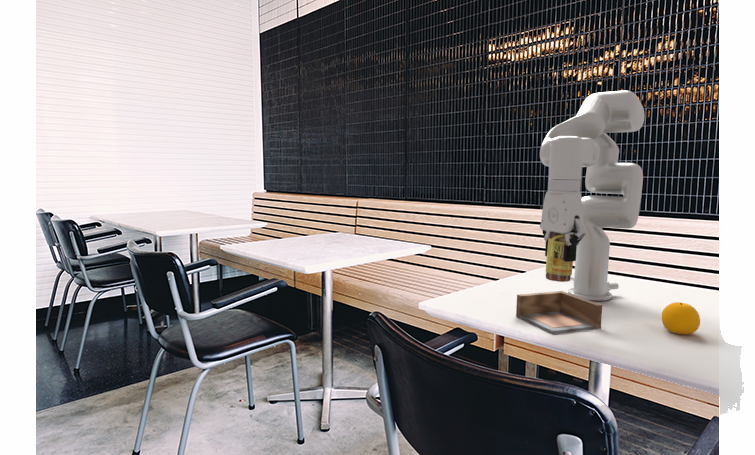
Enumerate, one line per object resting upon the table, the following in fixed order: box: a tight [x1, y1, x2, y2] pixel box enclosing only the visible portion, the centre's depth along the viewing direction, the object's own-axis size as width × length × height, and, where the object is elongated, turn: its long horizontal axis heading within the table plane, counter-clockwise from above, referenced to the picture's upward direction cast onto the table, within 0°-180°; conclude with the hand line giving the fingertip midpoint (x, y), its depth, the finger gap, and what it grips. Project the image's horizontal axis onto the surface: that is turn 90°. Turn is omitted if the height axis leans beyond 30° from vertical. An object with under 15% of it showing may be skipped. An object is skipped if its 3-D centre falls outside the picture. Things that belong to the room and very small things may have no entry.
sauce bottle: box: [545, 231, 574, 283], centre depth 118 cm, size 7×6×20 cm
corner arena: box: [515, 290, 603, 335], centre depth 121 cm, size 15×15×6 cm
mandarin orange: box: [661, 301, 701, 335], centre depth 115 cm, size 8×8×8 cm
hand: (560, 258), depth 119 cm, fingers closed on sauce bottle, 6 cm apart
